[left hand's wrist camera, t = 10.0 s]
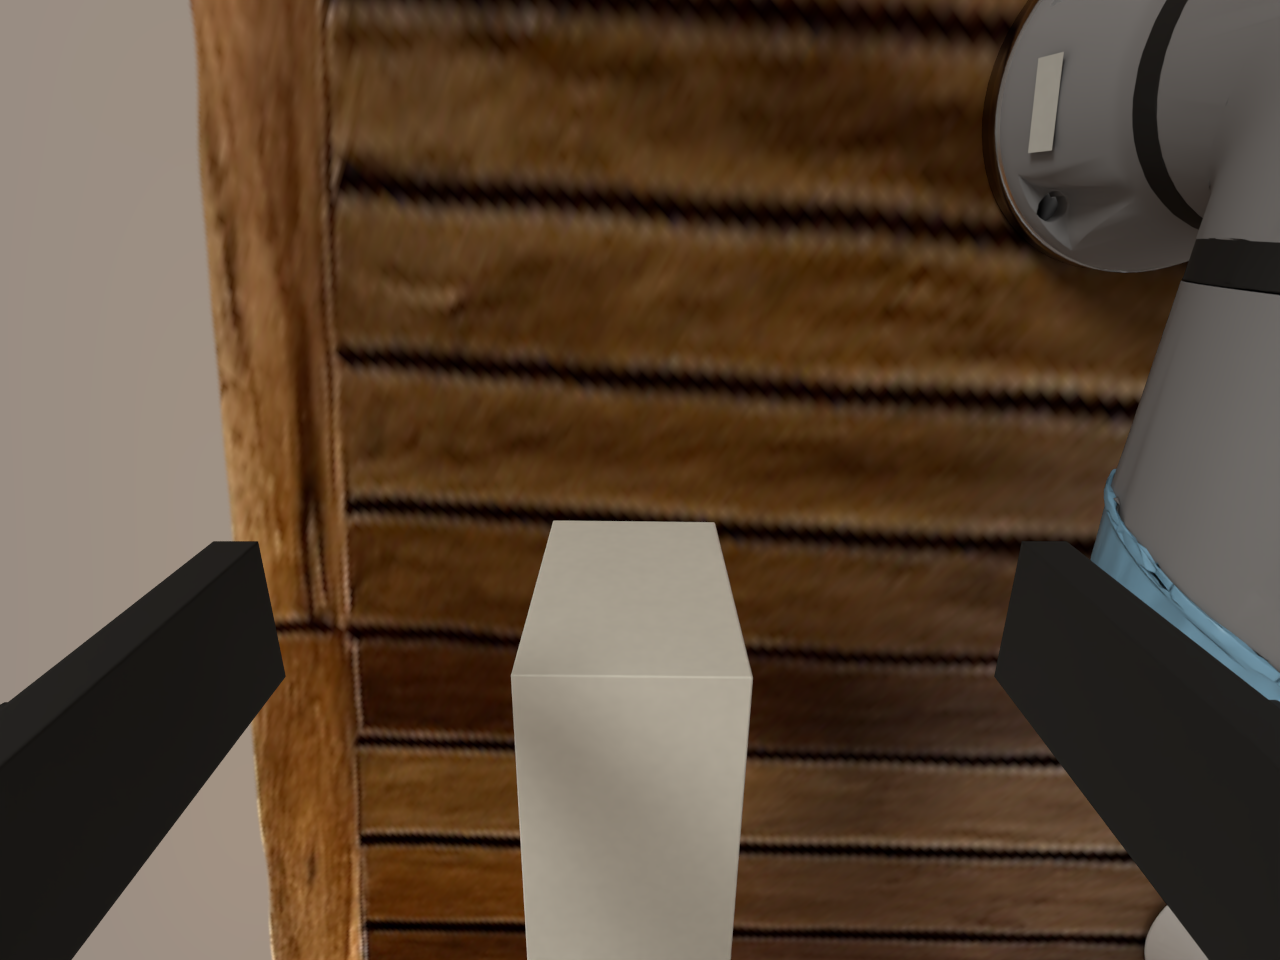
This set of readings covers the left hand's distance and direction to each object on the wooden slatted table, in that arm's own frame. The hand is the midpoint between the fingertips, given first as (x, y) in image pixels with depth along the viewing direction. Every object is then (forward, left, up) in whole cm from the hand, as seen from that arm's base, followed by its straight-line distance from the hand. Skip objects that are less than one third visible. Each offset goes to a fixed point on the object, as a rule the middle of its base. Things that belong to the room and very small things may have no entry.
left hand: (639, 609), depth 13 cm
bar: (0, +16, -13) cm, 21 cm away
